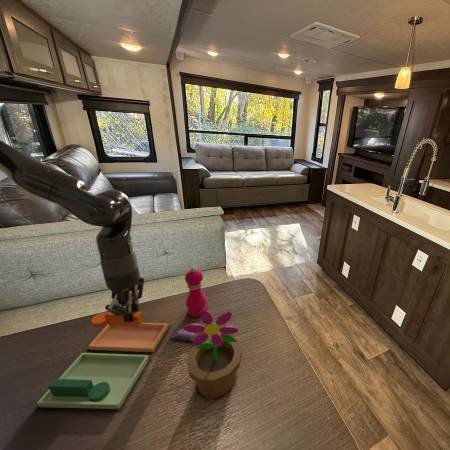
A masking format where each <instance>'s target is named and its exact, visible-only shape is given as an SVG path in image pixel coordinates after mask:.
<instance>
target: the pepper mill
mask: <svg viewBox="0 0 450 450" xmlns="http://www.w3.org/2000/svg"><path fill="white" fill-rule="evenodd" d="M203 279H204V274H203V272H202V271H201V270H200V269H197V268H196V266H195V267H194V266H192V267H191V268H190V270H188V271H187V272H186V273H185V276H184V280H185V283H186V284H187V286H186V287H187V289H188V290H189V291H188V292H189V293H188V296H187V298H186V301H185V306H186V308H187V312H188V313H187V314H188V315H189V316H190V317H192V318H198V317H201V310H204V309H206V310H207V306H206V305H207V297H206V295H205V294H204V293H203V290H202V286H203Z"/></svg>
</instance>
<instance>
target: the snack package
mask: <svg viewBox="0 0 450 450" xmlns="http://www.w3.org/2000/svg"><path fill="white" fill-rule="evenodd" d="M201 333H205V332H204V331H202V332H199V333H190V332H188V331H186V330H184V326H177V328H175V331H174V332H173V333H172V334H171V336H170V339H175V340H182V341H191V342H193V341H194V338H196V337H197V336H198V335H199V334H201Z"/></svg>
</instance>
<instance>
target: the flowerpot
mask: <svg viewBox="0 0 450 450" xmlns="http://www.w3.org/2000/svg"><path fill="white" fill-rule="evenodd" d="M232 316H233V312H232V311H230V310H229V311H226V312H222V313H221V314H220V315H219V316H218V317H217V318H216V320H215V321H216V322H213V321H214V316H213V315H212V312H211V311H210V310H207V308H206V309H204V310H201V316H199V317H200V320H201V322H202V323H203V324H204V325H203V324H202V323H197V322H196V323H194V322H191V323H188V324H186V325H184V326H183V327H184V330H186V331H188V332H190V333H199V332H202V331H204V332H205V333H201V334H199V335H198V336H197V337H196V338H194V341H192V348H191V350H190V353H189V354H188V357H187V359H186V363H187V364H186V365H187V370H188V374H189V378H190V379H192V380H193V381H194V382H196V385H197V388H198V392H199V393H200V394H201V395H202V396H204V397H205V398H209V399H217V398H219V397H221V396H223V395H226V394H227V393H228V392H229V391H230V390H231V388H232V387H233V386H234V383H235V382H234V381H235V378H236V372H237V371H238V370H239V368H240V366H241V362H242V358H243V350H242V348H241V345H240V343H239V341H238V340H237V339H236V338H235V337H233V336H232V335H234V334H237V333H239V330H240V329H239V328H238V327H236V326H235V325H229V324H227V323H228V322H229V321H230V320H231V318H232Z"/></svg>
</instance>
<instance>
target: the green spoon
mask: <svg viewBox="0 0 450 450" xmlns="http://www.w3.org/2000/svg"><path fill="white" fill-rule="evenodd" d="M49 389H50V391H51V393H52V395H53V396H69V397H89V400H90V401H91V402H98V401H100V400H102V399H104V398H105V397H106V396H107V395H108V394H109V392H110V386H109V383H107V382H101V383H98V384H96V385H95V386H93V383H92V380H76V379H59V378H54V380H52V381H51V383H50V384H49V385H48V390H49Z"/></svg>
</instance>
